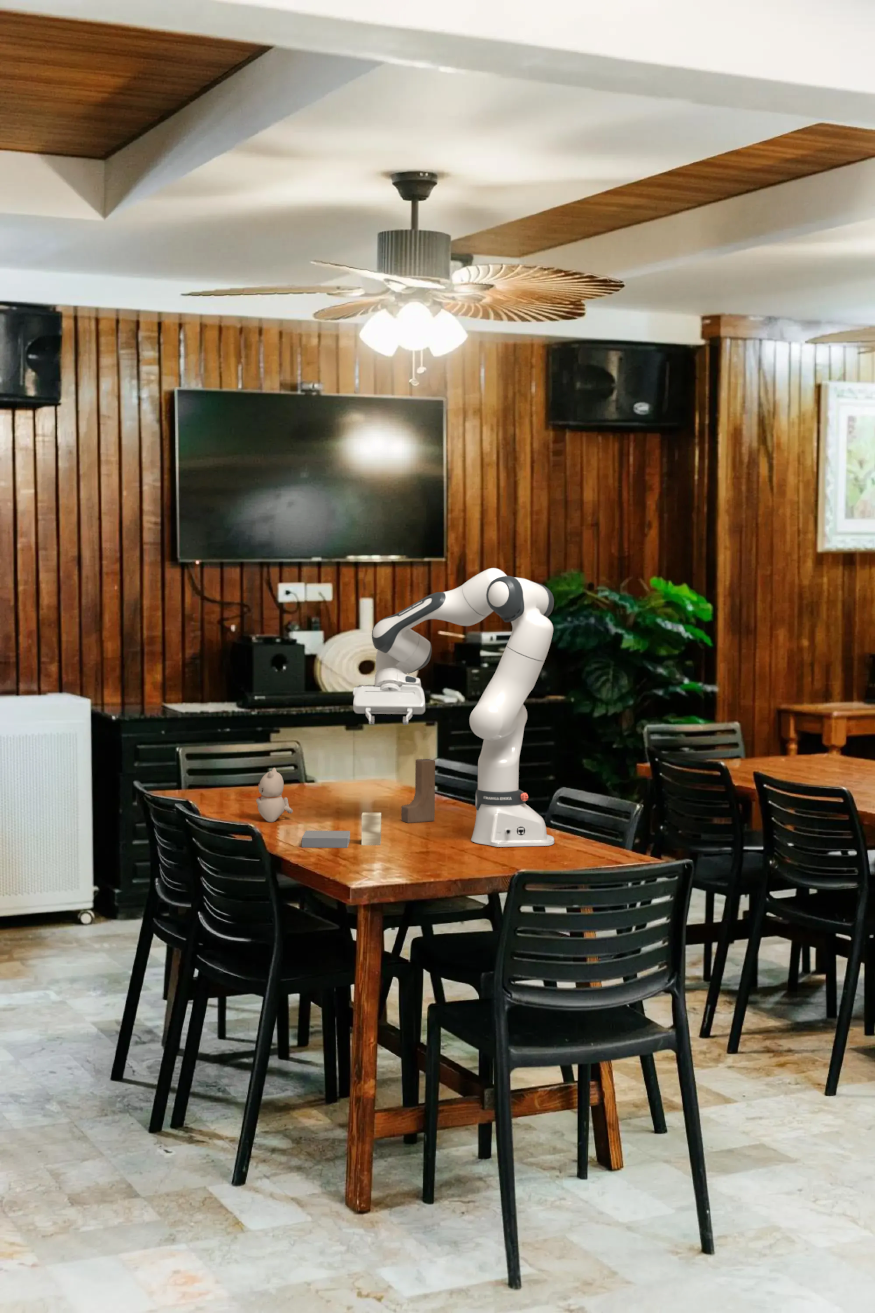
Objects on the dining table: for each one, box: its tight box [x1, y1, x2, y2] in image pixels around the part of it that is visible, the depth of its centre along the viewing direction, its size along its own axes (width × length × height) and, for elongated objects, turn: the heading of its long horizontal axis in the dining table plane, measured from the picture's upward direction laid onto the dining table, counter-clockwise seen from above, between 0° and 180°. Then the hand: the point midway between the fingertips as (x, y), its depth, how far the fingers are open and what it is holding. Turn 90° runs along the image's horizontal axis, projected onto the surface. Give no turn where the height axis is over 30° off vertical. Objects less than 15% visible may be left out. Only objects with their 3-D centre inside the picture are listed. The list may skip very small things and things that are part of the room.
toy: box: [255, 767, 294, 823], centre depth 449 cm, size 12×10×15 cm
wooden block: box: [400, 758, 436, 824], centre depth 449 cm, size 9×4×18 cm, turn 118°
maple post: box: [361, 812, 382, 846], centre depth 410 cm, size 5×5×8 cm
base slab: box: [301, 830, 351, 849], centre depth 409 cm, size 12×12×2 cm
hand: (388, 723), depth 425 cm, fingers open, 8 cm apart
